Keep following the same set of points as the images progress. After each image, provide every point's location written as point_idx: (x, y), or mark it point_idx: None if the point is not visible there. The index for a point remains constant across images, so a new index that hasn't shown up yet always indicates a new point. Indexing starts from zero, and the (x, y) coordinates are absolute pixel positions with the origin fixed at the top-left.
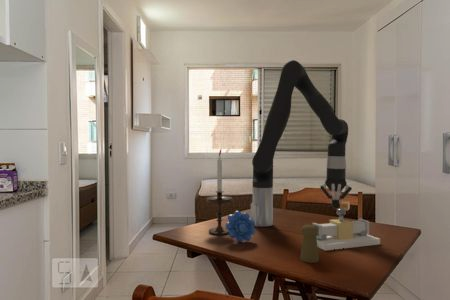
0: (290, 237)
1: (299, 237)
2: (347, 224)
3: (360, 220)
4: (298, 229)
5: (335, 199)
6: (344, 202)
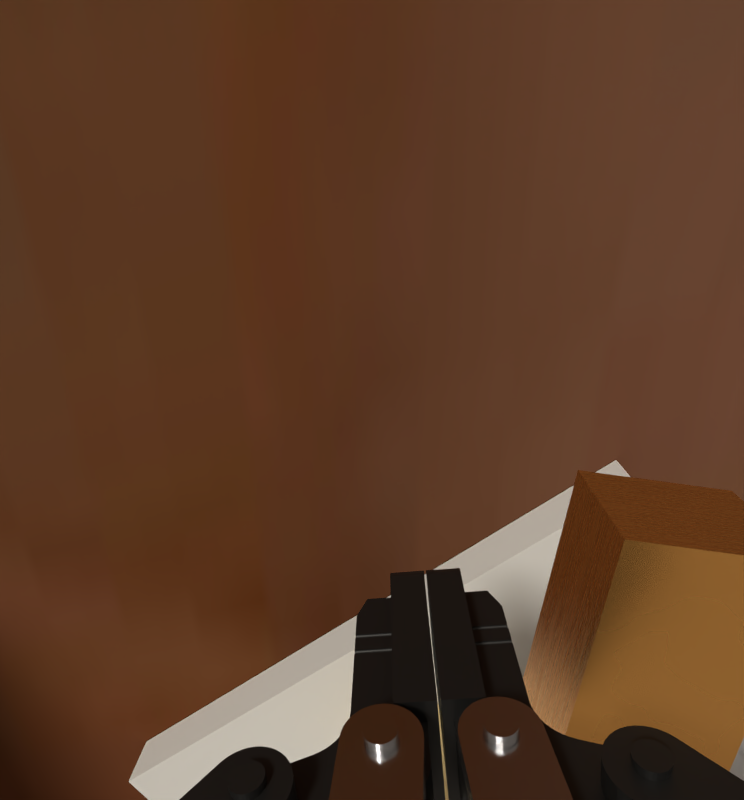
0: (28, 697)
1: (99, 679)
2: None
3: (741, 751)
4: (9, 403)
5: (447, 701)
6: (654, 689)
